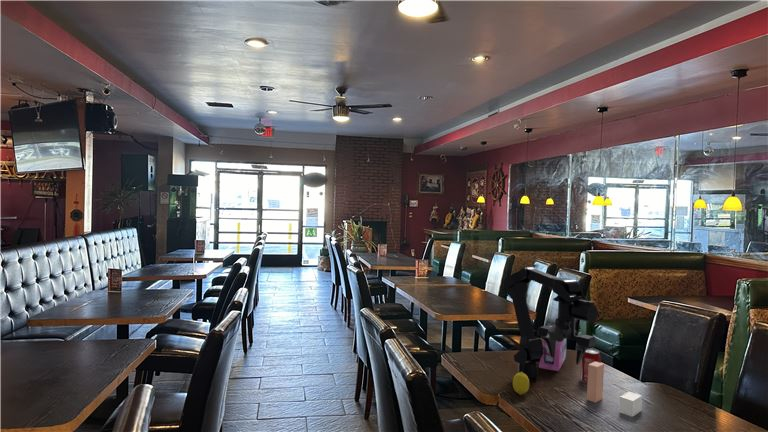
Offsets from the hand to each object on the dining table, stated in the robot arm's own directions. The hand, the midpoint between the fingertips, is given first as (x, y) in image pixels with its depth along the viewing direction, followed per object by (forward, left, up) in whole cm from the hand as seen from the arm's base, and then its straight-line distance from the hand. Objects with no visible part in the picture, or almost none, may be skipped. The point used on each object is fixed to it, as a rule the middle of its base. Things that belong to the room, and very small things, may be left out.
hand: (564, 360), depth 164 cm
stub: (+9, -3, -11) cm, 15 cm away
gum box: (+5, +36, -12) cm, 38 cm away
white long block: (+13, -7, -12) cm, 19 cm away
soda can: (+13, +14, -12) cm, 23 cm away
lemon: (-15, -3, -12) cm, 20 cm away
